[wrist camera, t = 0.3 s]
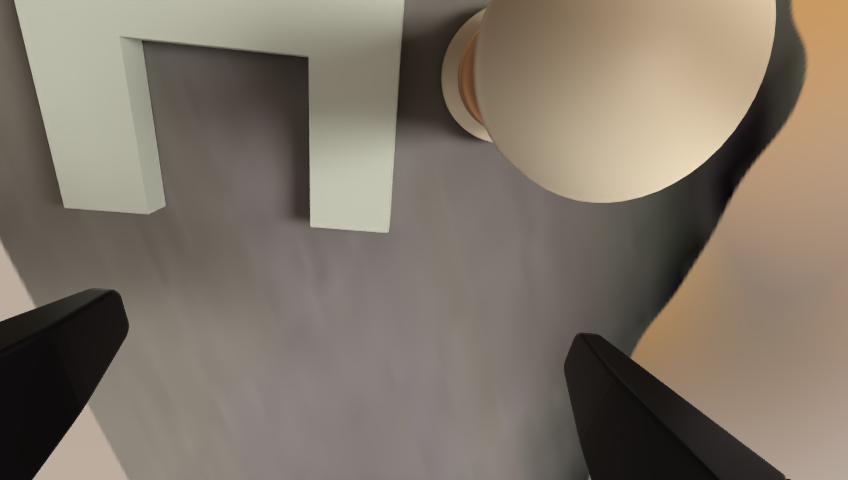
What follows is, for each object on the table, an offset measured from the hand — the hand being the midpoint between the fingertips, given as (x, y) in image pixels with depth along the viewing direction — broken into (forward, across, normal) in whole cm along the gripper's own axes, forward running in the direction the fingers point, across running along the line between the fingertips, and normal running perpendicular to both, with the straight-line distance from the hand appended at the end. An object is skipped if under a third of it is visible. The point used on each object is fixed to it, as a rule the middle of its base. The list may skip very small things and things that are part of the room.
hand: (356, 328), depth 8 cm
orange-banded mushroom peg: (+15, -5, -4) cm, 16 cm away
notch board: (+14, +8, -2) cm, 17 cm away
